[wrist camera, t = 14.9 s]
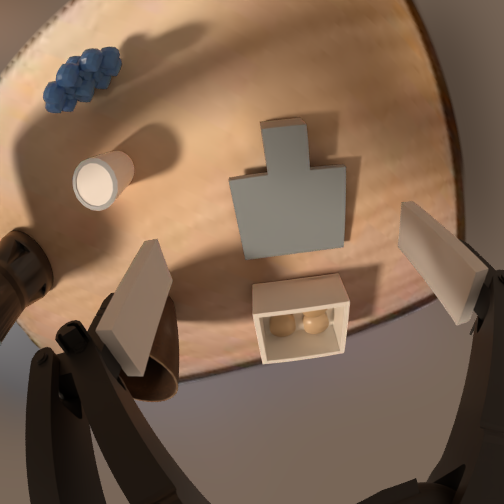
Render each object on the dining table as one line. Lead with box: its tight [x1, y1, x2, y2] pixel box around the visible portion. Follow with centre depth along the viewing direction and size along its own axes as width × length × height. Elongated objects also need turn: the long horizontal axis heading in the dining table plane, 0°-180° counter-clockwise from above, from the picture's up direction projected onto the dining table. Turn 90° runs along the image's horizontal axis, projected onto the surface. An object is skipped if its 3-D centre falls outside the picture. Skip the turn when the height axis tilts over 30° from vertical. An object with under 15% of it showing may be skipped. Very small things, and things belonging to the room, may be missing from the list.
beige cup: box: [72, 151, 134, 211], centre depth 32 cm, size 7×7×7 cm
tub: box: [252, 273, 350, 364], centre depth 45 cm, size 14×12×7 cm
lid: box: [229, 118, 346, 260], centre depth 36 cm, size 15×19×4 cm
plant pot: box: [119, 296, 179, 402], centre depth 41 cm, size 15×15×16 cm
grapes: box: [43, 47, 122, 113], centre depth 23 cm, size 12×7×12 cm, turn 117°
